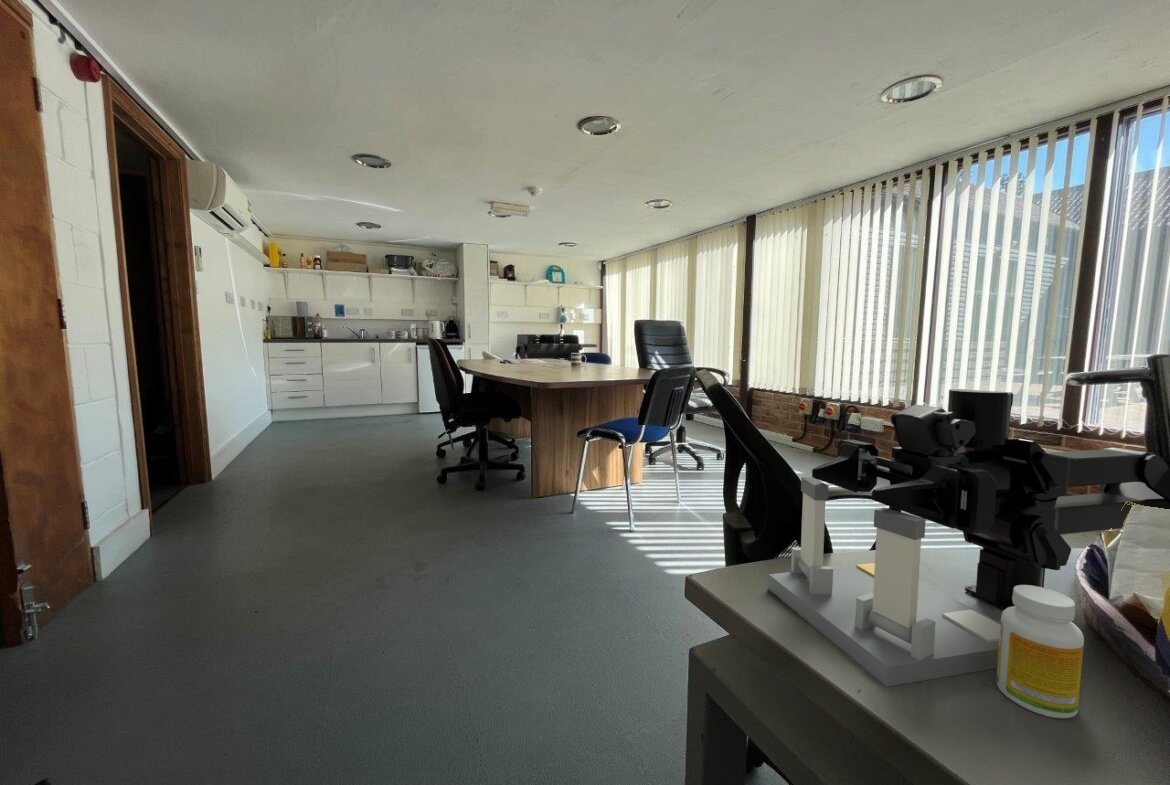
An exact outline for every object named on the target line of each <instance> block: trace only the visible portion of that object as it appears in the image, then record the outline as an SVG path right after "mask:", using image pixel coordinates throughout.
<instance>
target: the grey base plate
mask: <svg viewBox="0 0 1170 785" xmlns="http://www.w3.org/2000/svg"><path fill="white" fill-rule="evenodd" d="M800 558H801V546H799V547H798V546H797V547H795V546H793V547H791V564H790V565H791V566H790V567H791V568H790V571H789V572H788V571H787V572H779V573H771V574H770V573H769V574H768V590H769V591H770V592H771V593H773V595H775V596H776V597H778V599H780V600H781V602H784V603H785V604H786V605H787V606H788V607H789V608H791V609H792V610H793V611H795V612H796V613H797V614H798V615H800V617H801V618H803V619H804V620H806V622H808V624H810V625H811V626H813V628H815V629H816V630H818V631H819V633H821V634H822V635H824V637H826V638H827V639H828V640H830V642H832V643H833V644H834V645H835V646H836V647H838V648H839V650H841V651H842V652H843V653H845V654H846V655H848V656H849V657H850V658H851V659H852V660H853V661H855V663H857V664H859V666H861V667H862V668H863V669H864V670H866V671H867V672H868V673H869V674H870V675H872V676H873V677H874V678H875V679H876V680H877V681H879V682H880V683H881V684H882V685H884V686H885V687H887V688H888V687H893V686H900V685H905V684H906V685H907V684H911V683H916V682H924V681H929V680H934V679H939V678H941V679H942V678H945V677H947V678H948V677H951V676H959V675H964V674H965V675H966V674H971V673H974V672H981V671H989V670H994V669H997V663H998V651H999V637H1000V624H1001V621H999V620H996V619H994V618H992V617H991V616H988V615H986V614H984V613H983V612H982V611H979V610H977V609H975V608H973V607H971V606H969V605H967V604H966V603H964V602H961V601H960V600H958V599H956V598H954V597H952V596H950V595H948V594H946V593H945V592H943V591H942V590H938V589H936V588H935V587H933V586H931V585H929V584H928V583H925V582H924V581H921V580H920V579H919V583H918V600H917V617H916V623H914V624H912V640H911V644H909V643H907V642H905V641H903V640H902V639H900V638H898V637H896V636H894V635H892V634H890V633H888V632H886V631H884V630H882V629H880V628H878V627H876V626H874V625H872V624H870V623H869V619H868V617H869V613H870V611H871V610H872V609H873V591H874V571H875V562H871V563H862V564H861V563H860V564H855V565H854V564H853V565H844V566H835V567H834V566H833V567H832V566H828V565H826V566H825V565H823V566H810V579H809V578H808V577H807V576H806V575H805V574H804V573H803V572H802V571H801V570H800V569H799V567H798V565H797V563H798V560H799V559H800Z"/></svg>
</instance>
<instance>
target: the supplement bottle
mask: <svg viewBox="0 0 1170 785" xmlns="http://www.w3.org/2000/svg"><path fill="white" fill-rule="evenodd" d="M1012 600H1013V604H1014V605H1015V606H1012V607H1008V608H1006V609H1005V610H1004V609H1003V611H1002V613H1001V617H1000V623H1001V624H1000V637H999V651H998V663H997V668H996V684H997V685H996V686H997V688H998V689H999V690H1000V691H1001V693H1002V694H1004V695H1005V697H1006V698H1008V699H1009V700H1011V701H1012V702H1014V703H1016V704H1017V705H1019V706H1021V707H1023V708H1024V709H1027V710H1028V711H1031V712H1033V713H1036V714H1039V715H1042V716H1044V717H1048V718H1053V719H1071V718H1073V717H1076V715H1077V714H1078V711H1079V706H1080V705H1079V704H1080V691H1081V680H1082V668H1083V655H1084V645H1085V643H1084V642H1085V638H1084V636H1085V635H1084V634H1083V632H1082V631H1081V629H1080V628H1079V627H1078V626H1077V625H1076V624H1075V623H1074V622H1073V621H1074V620H1075V615H1076V603H1075V602H1074V601H1075V600H1073V599H1071V598H1070V597H1069V596H1067V595H1065V594H1062V593H1060V592H1059V591H1058V592H1057V591H1055V590H1053V589H1049V588H1045V587H1044V588H1042V587H1037V586H1031V585H1018V586H1015V587H1014V589H1013V596H1012Z"/></svg>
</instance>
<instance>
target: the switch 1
mask: <svg viewBox="0 0 1170 785" xmlns="http://www.w3.org/2000/svg"><path fill="white" fill-rule="evenodd" d="M800 483H801V484H800V491H801V492H802V510H801V511H802V513H801V514H802V515H801V536H800V539H801V540H800V548H801V558H800V559H799V560H798V563H797V565H798V567H799V569H800V570H801V571H802V572H803V573H804V574H805V575H806V576H807V577H808V578H809V579H810V566H824V547H825V546H824V544H825V523H826V521H825V520H826V501H829V485H828V484H826V483H825V482H824V481H821V480H818V479H815V478H813V477H812V476H811V477H810V476H809V477H808V476H807V477H805V476H803V477H802V476H801V479H800Z"/></svg>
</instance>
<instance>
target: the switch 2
mask: <svg viewBox="0 0 1170 785" xmlns="http://www.w3.org/2000/svg"><path fill="white" fill-rule="evenodd" d="M873 511H874V513H873V514H874V515H873V527H874V528H875V529H876V535H875V554H874V555H875V556H874V557H875V558H874V563H875V571H874V591H873V609H872V610H871V611H870V613H869V617H868V619H869V623H870V624H872V625H874V626H876V627H878V628H880V629H882V630H884V631H886V632H888V633H890V634H892V635H894V636H896V637H898V638H900V639H902V640H903V641H905V642H907V643H909V644H911V640H912V624H914V623H916V617H917V600H918V583H919V580H920V578H919V577H920V563H921V561H920V560H921V546H922V539H923V538H925V537H926V534H925V533H926V521H927V519H924V518H921V517H918V516H915V515H913V514H910V513H907V512H903V511H900V510H894V509H891V508H887V507H880V508H879V507H878V508H876V509H874V510H873Z"/></svg>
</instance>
